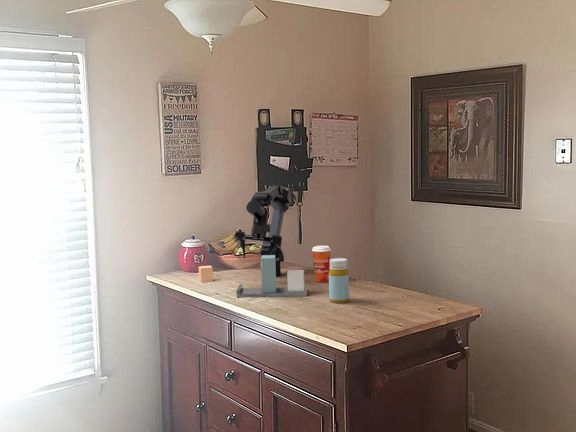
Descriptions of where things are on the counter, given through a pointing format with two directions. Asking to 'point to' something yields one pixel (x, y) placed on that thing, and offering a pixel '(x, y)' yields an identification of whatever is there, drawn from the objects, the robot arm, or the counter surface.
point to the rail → (293, 289)
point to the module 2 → (268, 273)
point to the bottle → (338, 280)
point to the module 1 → (205, 274)
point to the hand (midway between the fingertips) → (255, 259)
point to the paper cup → (321, 263)
